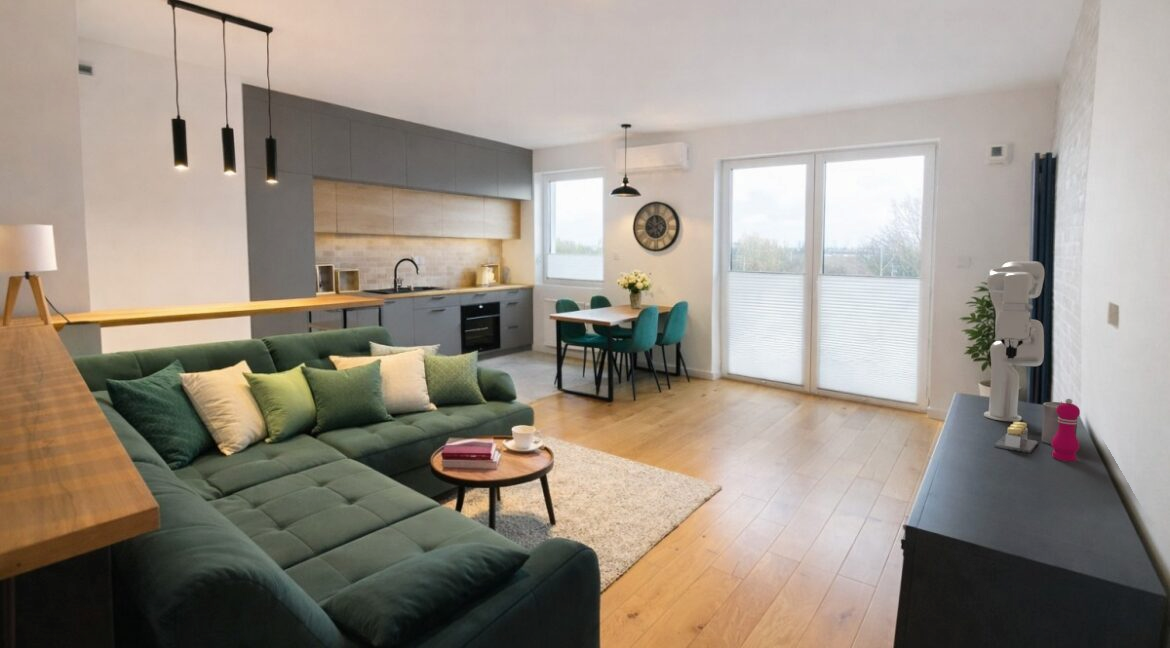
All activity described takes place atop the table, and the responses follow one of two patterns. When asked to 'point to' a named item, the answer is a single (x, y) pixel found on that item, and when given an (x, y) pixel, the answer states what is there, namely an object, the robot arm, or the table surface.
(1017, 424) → the knob
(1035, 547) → the table surface
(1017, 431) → the knob
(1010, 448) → the mount plate
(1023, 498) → the table surface
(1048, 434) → the pillar candle
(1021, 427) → the knob
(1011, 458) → the table surface
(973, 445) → the table surface
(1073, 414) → the pepper mill
